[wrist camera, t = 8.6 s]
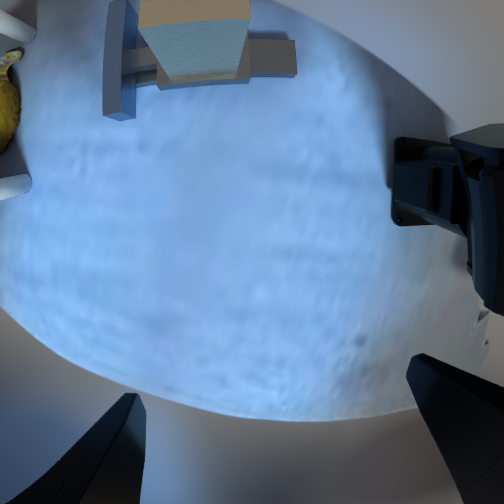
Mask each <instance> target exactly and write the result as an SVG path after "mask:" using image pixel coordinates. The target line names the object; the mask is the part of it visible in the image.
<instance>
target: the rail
mask: <svg viewBox="0 0 504 504" xmlns="http://www.w3.org/2000/svg"><path fill="white" fill-rule="evenodd" d="M249 57H250V77H288V78H293V77H295V76H296V75H297V62H296V50H295V40H281V39H249ZM156 84H157V69H152V70H146V71H140V72H136V88H138V87H144V86H150V85H156Z"/></svg>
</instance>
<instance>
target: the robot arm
mask: <svg viewBox="0 0 504 504" xmlns="http://www.w3.org/2000/svg"><path fill="white" fill-rule="evenodd" d="M401 141H402V142H403V146H401V144H400V143H401ZM450 141H451V145H450V144H445V143H440V142H434V141H428V140H422V139H415V138H408V137H397V138H396V140H395V165H394V191H393V199H394V207H393V222H394V224H396V225H398V226H417V225H437V226H440V227H442V228H445V229H447V230H449V231H452V232H454V233H456V234H459V235H461V236H463V237H465V238H467V244H468V262H467V271H468V272H469V273H470V275H471V276H472V280H473V284H474V288H475V290H476V292H477V293H478V294H479V296H480V297H481V298H482V299H483V300H484V306H485V307H486V308H488V309H489V310H491V311H492V312H494V313H496V314H499V315H502V316H504V123H503V124H488V125H485V126H482V127H479V128H476V129H472V130H469V131H466V132H463V133H460V134H457V135H454V136H451V137H450ZM399 217H401V219H400V221H399V222H398V219H399ZM406 378H407V381H408V384H409V386H410V388H411V391H412V393H413V396H414V398H415V401H416V403H417V406H418V408H419V410H420V413H421V415H422V416H423V419H424V421H425V422H426V424H427V426H428V428H429V430H430V432H431V434H432V436H433V438H434V440H435V442H436V444H437V446H438V448H439V450H440V452H441V454H442V456H443V458H444V460H445V463H446V465H447V467H448V469H449V471H450V473H451V475H452V477H453V480H454V482H455V484H456V486H457V489H458V491H459V493H460V495H461V498H462V501H463V503H464V504H504V387H501V386H499V385H497V384H494V383H492V382H489V381H487V380H485V379H482V378H480V377H477V376H475V375H473V374H470V373H468V372H466V371H463V370H461V369H459V368H456V367H454V366H451V365H449V364H447V363H444V362H442V361H440V360H438V359H435V358H433V357H431V356H428V355H426V354H424V353H420V354H417V355H414V356H413V357H412V358H411V360H410V363H409V366H408V369H407V373H406ZM145 443H146V410H145V408H144V405H143V403H142V401H141V398H140V396H139V395H138V394H137V393H125V394H124V395H123V396H121V397H120V399H119V400H118V401H117V402H116V403H115V404H114V405H113V406H112V407H111V408H110V409H109V410H108V411H107V412H106V413H105V414H104V415H103V416H102V417H101V418H100V419H99V420H98V421H97V422H96V423H95V424H94V425H93V426H92V427H91V428H90V429H89V430H88V431H87V432H86V433H85V434H84V435H83V436H82V437H81V438H80V439H79V440H78V441H77V442H76V443H75V444H74V445H73V446H72V447H71V448H70V449H69V450H68V451H67V452H66V453H65V454H64V455H63V456H62V457H61V458H60V460H59V461H57V462H56V463H55V464H54V465H53V466H52V467H51V468H50V469H49V470H48V471H47V472H46V473H45V474H44V475H43V476H41V477H40V478H39V479H38V480H37V481H35V482H34V483H33V484H32V485H31V486H29V487H28V488H26V489H25V490H24V491H22V492H21V493H20V494H18V495H17V496H16V497H14V498H13V499H12V500H10V501H9V502H7V503H5V504H140V494H141V485H142V476H143V469H144V462H145V446H146V444H145Z"/></svg>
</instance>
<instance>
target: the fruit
mask: <svg viewBox="0 0 504 504" xmlns="http://www.w3.org/2000/svg"><path fill="white" fill-rule="evenodd" d="M21 57H22V51H20V50H19V51H10V52H7V53H6V54H5V56H4V57H3V59H2V61H1V62H0V63H1V66H0V154H1V153H2V152H3V151H4V148H5V147H6V145H7V142H8V141H9V140H10V139H11V136H12V134H13V133H14V131H15V130H16V127H18V125H19V121H20V120H19V115H20V113H21V108H20V106H19V103H20V99H19V96H18V93H17V88H16V87H15V86H14V85H12V84H11V83H9V79H8V76H7V70H8V68H9V66H10V65H11V64H13V63H14V62H16V61H18V60H20V59H21ZM6 59H8V60H9V62H8V63H7V64H5V60H6Z"/></svg>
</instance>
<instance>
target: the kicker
mask: <svg viewBox="0 0 504 504" xmlns="http://www.w3.org/2000/svg"><path fill="white" fill-rule="evenodd" d="M250 20H251V14H250V0H140V10H139V22H138V16H137V14H136V13H135V11H134V9H133V8H132V6H131V4H130V3H129V1H128V0H117V1H113V2H109V9H108V17H107V25H106V35H105V47H104V63H103V116H106V117H109V118H112V119H115V120H118V121H123V120H129V119H135V118H136V72H140V71H146V70H152V69H157V87H158V88H159V89H160V90H161V91H162V90H169V89H177V88H186V87H196V86H209V85H225V84H248V83H249V81H250V79H251V77H250V57H249V37H248V27H249V23H250ZM137 28H138V30H139V32H140V33H141V35H142V36H143V38H144V39H145V41H146V42H147V44H148V47H143V48H137V49H136V46H137Z"/></svg>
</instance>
